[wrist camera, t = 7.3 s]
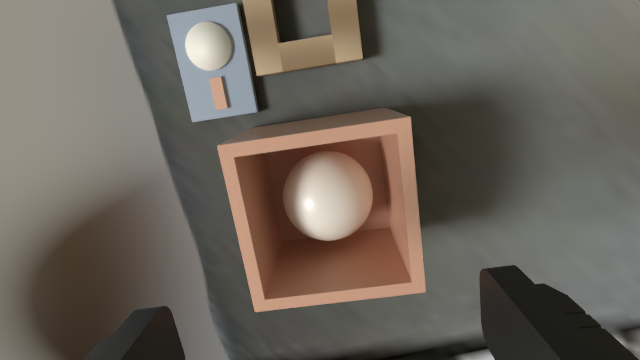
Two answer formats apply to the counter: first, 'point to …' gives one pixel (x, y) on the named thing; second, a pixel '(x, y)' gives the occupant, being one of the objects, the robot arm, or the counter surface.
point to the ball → (327, 195)
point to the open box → (318, 255)
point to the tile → (214, 62)
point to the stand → (305, 51)
